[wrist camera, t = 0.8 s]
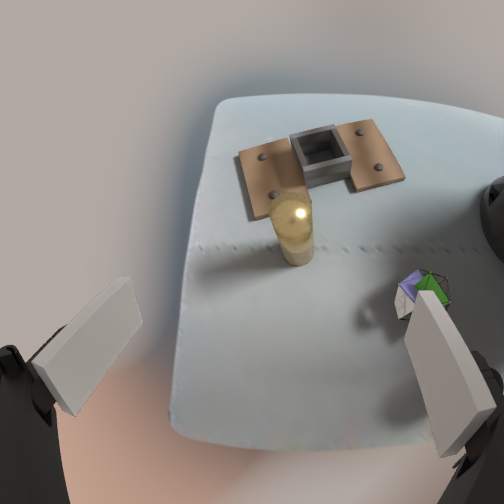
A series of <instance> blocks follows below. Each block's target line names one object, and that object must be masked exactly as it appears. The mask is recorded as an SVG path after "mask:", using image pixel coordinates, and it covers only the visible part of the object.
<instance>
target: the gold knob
mask: <svg viewBox="0 0 504 504" xmlns="http://www.w3.org/2000/svg"><path fill="white" fill-rule="evenodd" d="M269 216H270V219H271V222H272V225H273V227H274V230H275V233H276V236H277V238H278V241H279V244H280V247H281V249H282V252H283V255H284V257H285V259H286V261H287V262H288V263H290V264H291V265H294V266H302V265H305V264H307V263H308V262H309V261H310V260H311V259H312V257H313V253H314V245H313V221H312V207H311V204H310V202H309V200H308V199H307V198H306V197H305V196H304V195H302V194H300V193H297V192H285V193H282V194H280V195H278V196H277V197H276V198H275V199H274V200H273V201H272V202H271V204H270V207H269Z"/></svg>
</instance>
